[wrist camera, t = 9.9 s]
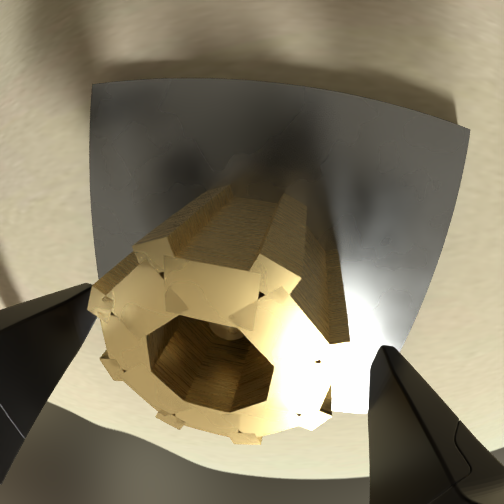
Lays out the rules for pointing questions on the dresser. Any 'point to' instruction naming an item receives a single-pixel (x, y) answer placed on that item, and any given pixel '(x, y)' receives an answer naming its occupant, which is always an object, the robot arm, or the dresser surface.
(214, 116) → the carrier plate
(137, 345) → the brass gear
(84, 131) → the dresser surface
